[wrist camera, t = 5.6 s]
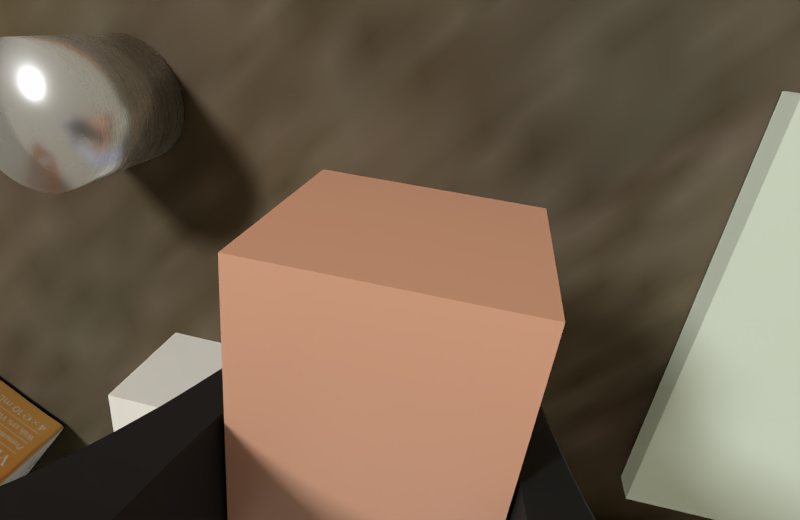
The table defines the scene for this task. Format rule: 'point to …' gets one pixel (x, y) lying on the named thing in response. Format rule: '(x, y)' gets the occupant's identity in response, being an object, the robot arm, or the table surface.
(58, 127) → the light grey cylinder
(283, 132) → the table surface
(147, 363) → the off-white cube
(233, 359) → the terracotta brick
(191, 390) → the robot arm
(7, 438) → the small box
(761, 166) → the board
